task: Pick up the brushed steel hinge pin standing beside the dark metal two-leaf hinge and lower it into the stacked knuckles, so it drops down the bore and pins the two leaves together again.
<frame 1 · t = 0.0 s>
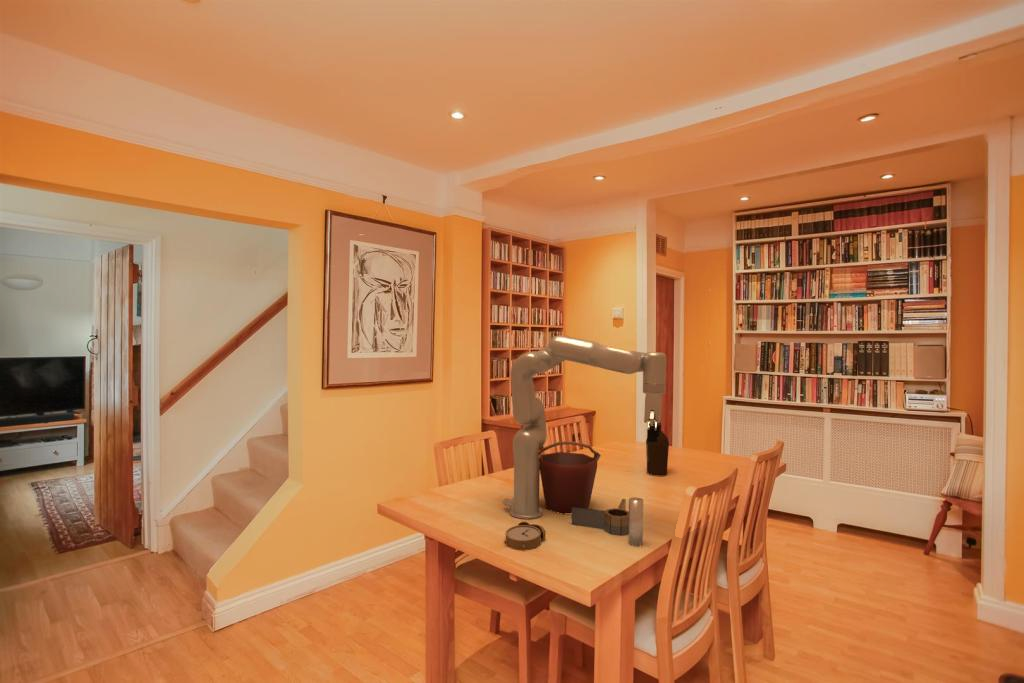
hand: (653, 439, 171), 31 cm above the table, tool pointing down, fingers open, 9 cm apart
bucket: (566, 507, 194), on the table
hinge: (617, 530, 172), on the table
alarm clock: (526, 542, 162), on the table
olive oil: (656, 474, 245), on the table
hinge pin: (635, 543, 161), on the table
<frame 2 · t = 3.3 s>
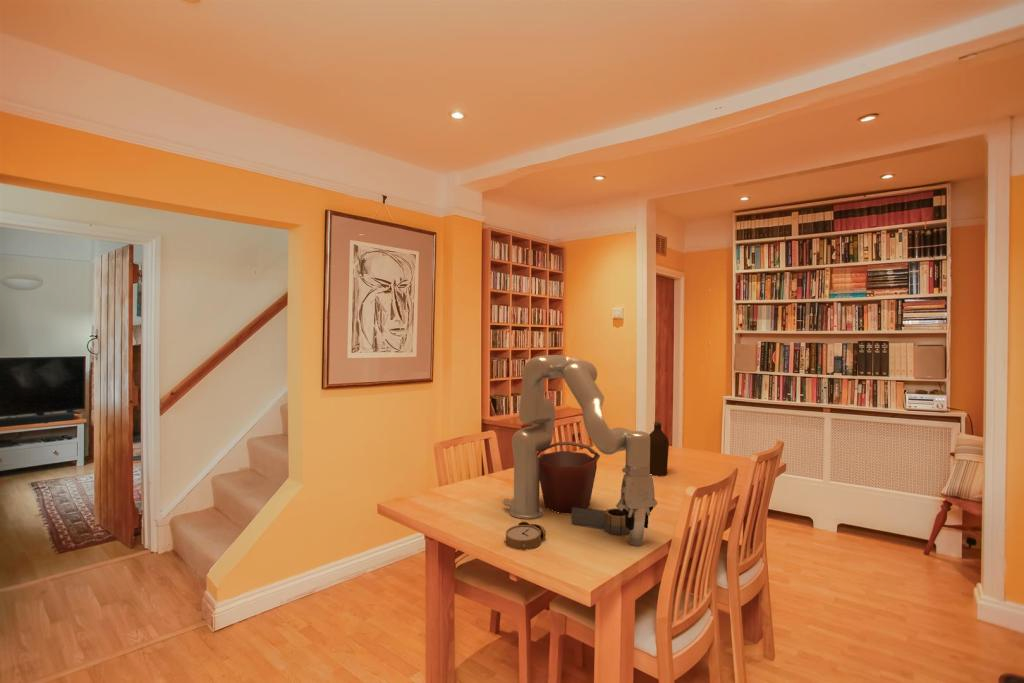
hand: (636, 527, 161), 5 cm above the table, tool pointing down, fingers closed on hinge pin, 4 cm apart
bucket: (566, 507, 195), on the table, touching arm
hinge pin: (635, 543, 161), on the table, tilted 5°, touching gripper
everything else where it was.
when the fingers open (8 cm above the table, at t = 10.0 s): hinge pin drops 3 cm, resting in hinge.
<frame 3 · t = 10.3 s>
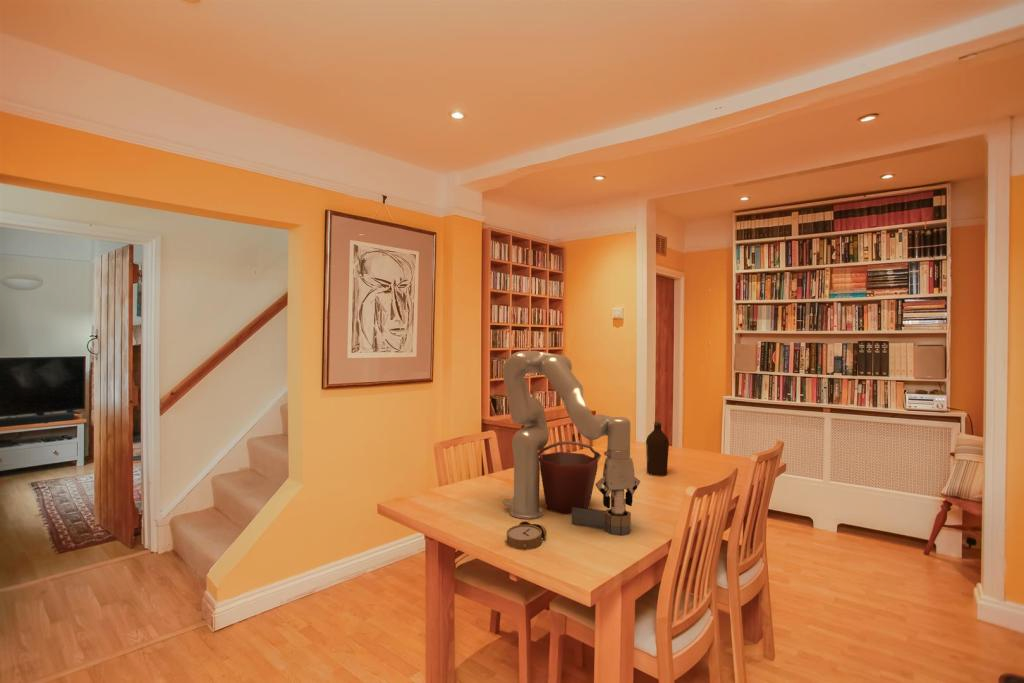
hand: (617, 505, 172), 8 cm above the table, tool pointing down, fingers open, 7 cm apart
hinge pin: (617, 530, 171), resting in hinge
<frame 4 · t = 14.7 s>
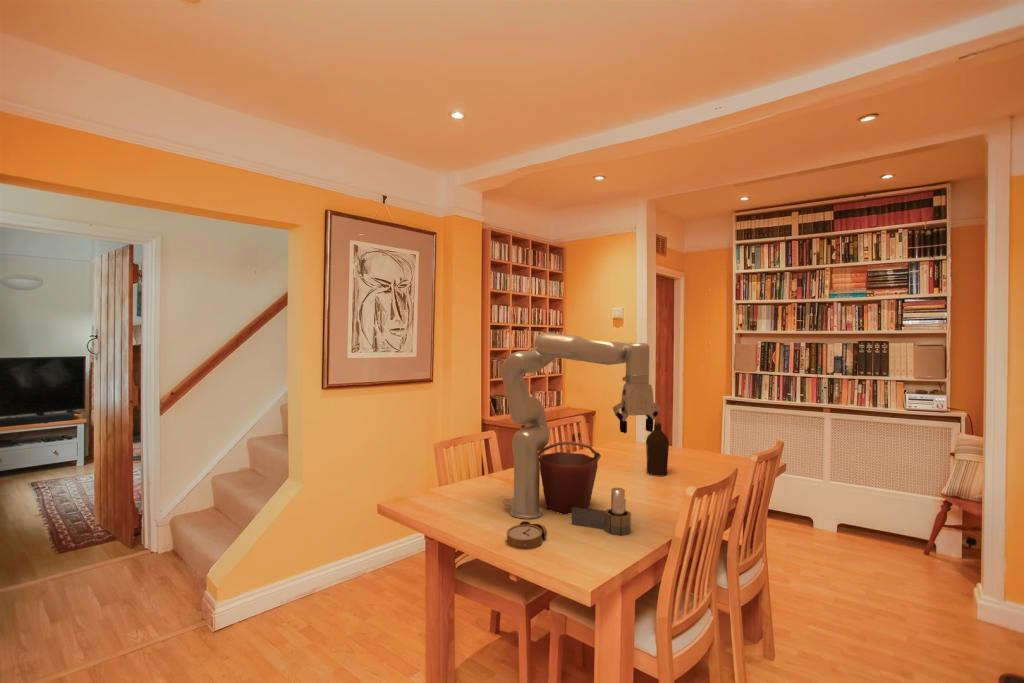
hand: (636, 431, 167), 34 cm above the table, tool pointing down, fingers open, 9 cm apart
bucket: (566, 507, 194), on the table
everything else where it was.
at the end: hinge pin 0.4 cm off-centre on the hinge, point 0.0 cm above the hinge's base; hinge pin tilted 0°; the gripper is holding nothing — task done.
